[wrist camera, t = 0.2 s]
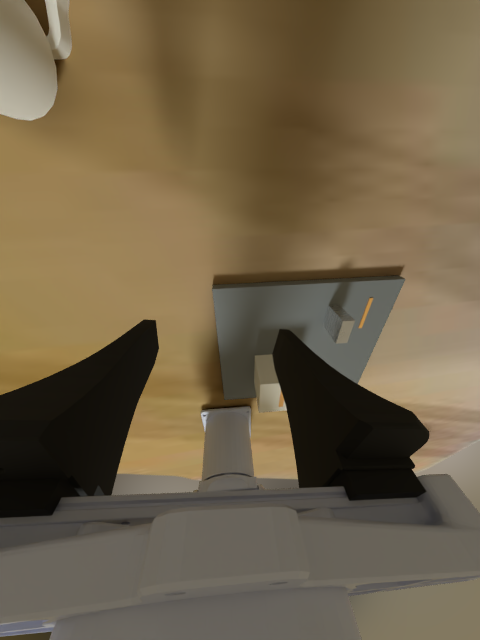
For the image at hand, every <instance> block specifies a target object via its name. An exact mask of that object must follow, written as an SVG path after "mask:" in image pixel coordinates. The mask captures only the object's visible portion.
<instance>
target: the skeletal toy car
mask: <svg viewBox="0 0 480 640" xmlns="http://www.w3.org/2000/svg"><path fill="white" fill-rule="evenodd" d="M69 1H70V0H45V3H46V9H47V15H48V22H49V33H48V36H46V35H45V33H44V31H43V29H42V27H41V25H40V23H39V21H38V19H37V17H36V15H35V14H34V13H33V11H32V10H31V9H30V7H29V6H28V4H27V3H26V2H25V0H0V114H2V115H5V116H8V117H12V118H15V119H22V120H31V121H32V120H34V119H37V118H40V117H43V116H45V115H46V113H47V112H48V111H49V110H50V109H51V107H52V106H53V104H54V100H55V97H56V93H57V71H56V65H55V62H54V59H66V58H67V57H68V56H69V55H70V52H71V48H72V39H71V31H70V24H69V13H68V12H69Z"/></svg>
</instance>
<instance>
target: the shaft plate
mask: <svg viewBox="0 0 480 640" xmlns="http://www.w3.org/2000/svg"><path fill="white" fill-rule="evenodd" d="M404 281H405V279H404V278H402V277H400V276H379V277H360V278H340V279H321V280H301V281H282V282H262V283H243V284H223V285H213V287H212V291H213V300H214V309H215V318H216V327H217V336H218V345H219V354H220V364H221V373H222V382H223V391H224V400H229V399H242V398H255V397H256V391H255V385H254V368H255V355H270V354H272V353H273V350H274V346H275V343H276V340H277V336H278V333H279V329H288V330H290V331H292V332H293V333H294V334H295V335H296V336H297V337H298V338H299V339H300V340H301V341H302V342H303V343H304V344H305V345H307V346H308V347H309V348H310V349H311V350H312V351H313V352H314V353H315V354H317V355H318V356H319V357H320V358H321V359H322V360H324V361H325V362H326V363H327V364H329V365H330V366H331V367H333V368H334V369H335V370H337V371H338V372H340V373H341V374H342V375H344V376H345V377H347V378H348V379H350V380H352V381H353V382H355V383H357V384H358V382H359V380H360V377H361V375H362V373H363V371H364V369H365V366H366V364H367V362H368V360H369V358H370V355H371V353H372V351H373V349H374V347H375V345H376V342H377V340H378V338H379V336H380V334H381V331H382V329H383V327H384V325H385V323H386V321H387V318H388V316H389V314H390V312H391V310H392V307H393V305H394V303H395V301H396V299H397V296H398V294H399V292H400V290H401V288H402V286H403V283H404Z"/></svg>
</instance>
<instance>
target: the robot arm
mask: <svg viewBox="0 0 480 640" xmlns="http://www.w3.org/2000/svg"><path fill="white" fill-rule="evenodd" d="M158 349H159V346H158V337H157V328H156V320H143V321H141V322H140V323H139V324H137V325H136V326H135V327H133V328H132V329H131V330H129V331H128V332H127V333H125V334H124V335H122V336H121V337H120V338H118V339H117V340H115V341H114V342H112V343H111V344H109V345H107V346H106V347H104V348H103V349H101V350H100V351H98V352H96V353H95V354H93V355H91V356H90V357H88V358H86V359H84V360H82V361H80V362H78V363H76V364H75V365H72V366H70V367H68V368H66V369H64V370H62V371H60V372H58V373H55V374H53V375H51V376H49V377H47V378H44V379H42V380H39V381H37V382H35V383H32V384H29V385H27V386H24V387H22V388H19V389H16V390H14V391H11V392H8V393H5V394H2V395H0V637H1V636H11V635H21V634H30V633H39V632H50V631H52V634H51V636H50V639H49V640H362V639H361V635H360V632H359V629H358V625H357V622H356V619H355V616H354V612H353V609H352V606H351V603H350V599H349V596H354V595H361V594H369V593H376V592H384V591H391V590H398V589H407V588H414V587H422V586H430V585H437V584H445V583H454V582H462V581H468V580H474V579H479V578H480V513H479V512H478V510H477V509H476V508H475V507H474V506H473V504H472V503H471V502H470V500H469V499H468V498H467V497H466V495H465V494H464V493H463V491H462V490H461V489H460V488H459V486H458V485H457V484H456V483H455V481H454V480H453V479H452V478H451V476H450V475H448V474H436V475H422V476H419V477H416V475H415V474H414V472H413V471H412V469H413V468H415V465H414V463H413V462H412V460H411V459H410V456H411V455H412V454H413V453H415V452H416V451H417V450H418V449H420V448H421V447H422V446H423V445H424V444H425V443H426V442H427V441H428V439H429V431H428V430H427V429H426V428H425V426H424V425H423V424H422V423H421V422H420V420H419V419H418V418H417V417H416V416H415V414H414V413H413V412H411V411H409V410H407V409H405V408H403V407H401V406H398V405H396V404H394V403H392V402H390V401H388V400H386V399H384V398H382V397H380V396H378V395H376V394H374V393H372V392H370V391H369V390H367V389H365V388H363V387H361V386H360V385H358V384H357V383H355V382H353V381H352V380H350V379H348V378H347V377H345V376H344V375H342V374H341V373H340V372H338V371H337V370H335V369H334V368H333V367H331V366H330V365H329V364H327V363H326V362H325V361H324V360H322V359H321V358H320V357H319V356H318V355H317V354H315V353H314V352H313V351H312V350H311V349H310V348H309V347H308V346H307V345H305V344H304V343H303V342H302V341H301V340H300V339H299V338H298V337H297V336H296V335H295V334H294V333H293V332H292V331H290V330H288V329H279V333H278V336H277V340H276V343H275V346H274V350H273V353H272V356H273V363H274V368H275V372H276V375H277V378H278V382H279V385H280V388H281V391H282V394H283V398H284V401H285V405H286V408H287V413H288V418H289V423H290V428H291V434H292V439H293V445H294V452H295V459H296V465H297V473H298V481H299V488H292V489H291V488H289V489H265V488H264V487H263V486H262V485H257V479H256V477H254V469H253V460H252V450H251V441H250V437H251V408H250V407H249V406H246V407H234V408H221V409H208V410H202V411H201V417H202V421H203V426H204V430H205V442H204V456H203V470H202V481H200V482H199V490H195V491H193V492H187V493H163V494H137V495H111V494H112V490H113V486H114V482H115V478H116V474H117V470H118V467H119V463H120V459H121V456H122V452H123V448H124V445H125V441H126V438H127V435H128V431H129V428H130V424H131V421H132V418H133V415H134V412H135V409H136V406H137V403H138V401H139V398H140V396H141V394H142V391H143V389H144V387H145V384H146V382H147V380H148V378H149V375H150V373H151V371H152V368H153V366H154V364H155V360H156V357H157V353H158Z"/></svg>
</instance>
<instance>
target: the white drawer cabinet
mask: <svg viewBox="0 0 480 640" xmlns="http://www.w3.org/2000/svg"><path fill="white" fill-rule="evenodd" d="M254 385H255V391H256V397H257V404H258V410H259V412H272V411H284V410H287V408H286V405H285V401H284V398H283V394H282V391H281V388H280V385H279V382H278V378H277V375H276V372H275V368H274V363H273V356H272V354H270V355H255V368H254Z"/></svg>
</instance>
